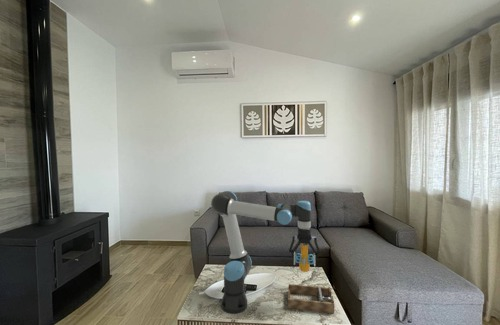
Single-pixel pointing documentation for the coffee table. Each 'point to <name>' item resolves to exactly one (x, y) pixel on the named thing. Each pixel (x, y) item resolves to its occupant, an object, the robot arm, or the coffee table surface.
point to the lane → (307, 303)
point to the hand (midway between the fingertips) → (304, 264)
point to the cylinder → (304, 258)
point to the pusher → (321, 296)
